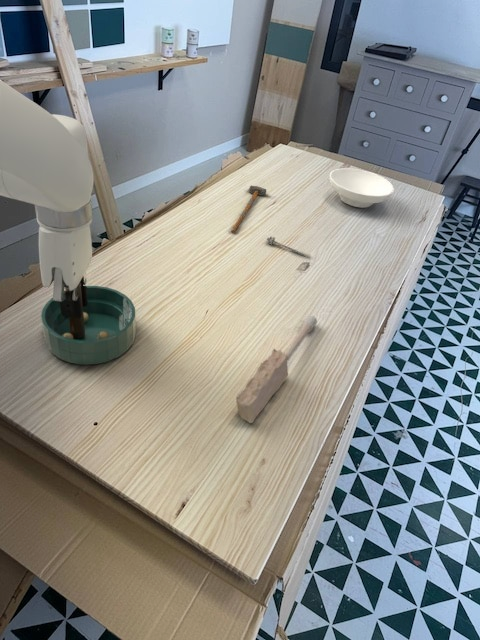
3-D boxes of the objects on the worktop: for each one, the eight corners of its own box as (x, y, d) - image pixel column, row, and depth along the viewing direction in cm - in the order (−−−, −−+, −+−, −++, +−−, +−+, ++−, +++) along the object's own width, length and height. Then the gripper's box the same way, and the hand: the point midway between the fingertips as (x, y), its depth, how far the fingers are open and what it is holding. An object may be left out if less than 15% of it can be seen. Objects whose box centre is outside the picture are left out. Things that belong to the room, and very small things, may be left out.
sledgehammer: (223, 232, 119) (241, 237, 118) (223, 225, 117) (242, 230, 117) (250, 190, 139) (266, 194, 139) (250, 184, 138) (267, 188, 137)
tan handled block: (299, 307, 94) (237, 383, 69) (320, 313, 92) (264, 393, 68) (293, 339, 97) (232, 422, 73) (313, 345, 96) (257, 432, 71)
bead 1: (73, 340, 81) (67, 348, 80) (64, 333, 80) (57, 341, 79) (77, 335, 79) (70, 344, 78) (67, 328, 79) (60, 336, 78)
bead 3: (101, 346, 80) (100, 338, 79) (95, 340, 81) (94, 331, 80) (111, 342, 81) (111, 333, 80) (106, 335, 82) (105, 327, 81)
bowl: (325, 183, 151) (331, 163, 147) (385, 196, 150) (392, 176, 146) (321, 208, 136) (328, 186, 132) (388, 223, 135) (396, 201, 131)
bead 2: (80, 324, 83) (72, 318, 83) (86, 325, 85) (79, 318, 85) (86, 315, 83) (78, 309, 83) (92, 316, 84) (85, 309, 85)
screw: (266, 243, 117) (269, 235, 117) (306, 261, 115) (309, 253, 115) (265, 241, 115) (268, 234, 115) (305, 259, 113) (309, 252, 113)
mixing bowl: (71, 380, 74) (67, 355, 71) (30, 327, 82) (25, 302, 79) (151, 344, 83) (152, 321, 80) (108, 299, 91) (107, 276, 88)
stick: (74, 340, 80) (68, 289, 73) (68, 332, 81) (61, 281, 74) (87, 335, 81) (83, 284, 74) (81, 328, 83) (76, 277, 76)
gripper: (57, 182, 72) (68, 279, 84) (12, 233, 60) (33, 339, 71) (106, 190, 73) (110, 285, 84) (71, 242, 60) (82, 345, 72)
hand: (75, 309), depth 78 cm, fingers closed on stick, 2 cm apart
